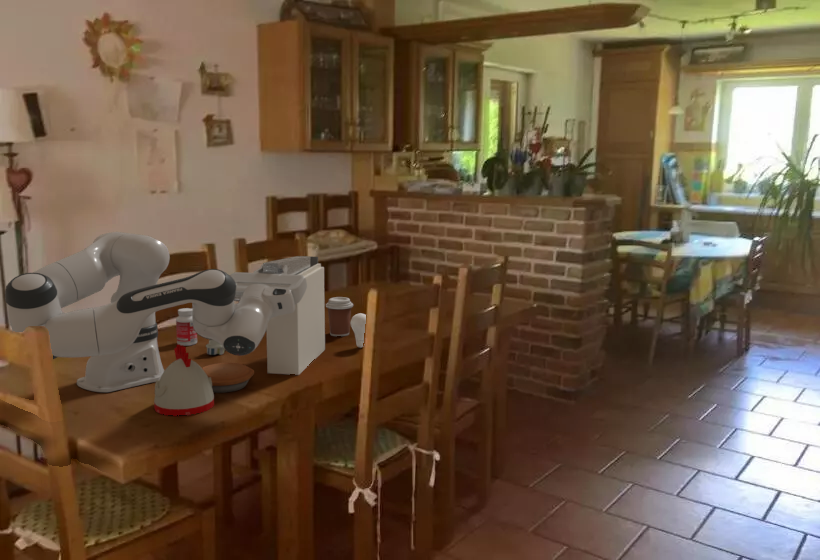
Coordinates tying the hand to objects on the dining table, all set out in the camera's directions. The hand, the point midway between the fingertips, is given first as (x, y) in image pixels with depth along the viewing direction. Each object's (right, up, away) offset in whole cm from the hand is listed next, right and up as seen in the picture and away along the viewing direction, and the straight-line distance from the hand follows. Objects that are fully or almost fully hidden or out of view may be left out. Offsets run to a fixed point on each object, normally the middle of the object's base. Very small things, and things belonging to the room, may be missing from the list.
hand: (275, 266), depth 194 cm
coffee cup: (+12, -22, +54) cm, 59 cm away
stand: (+3, -27, +23) cm, 36 cm away
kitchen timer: (-19, -34, -15) cm, 42 cm away
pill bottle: (-35, -24, +40) cm, 58 cm away
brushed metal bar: (+2, -2, +11) cm, 11 cm away
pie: (-13, -32, 0) cm, 34 cm away
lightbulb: (+20, -25, +37) cm, 49 cm away
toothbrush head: (-19, -25, +38) cm, 49 cm away
